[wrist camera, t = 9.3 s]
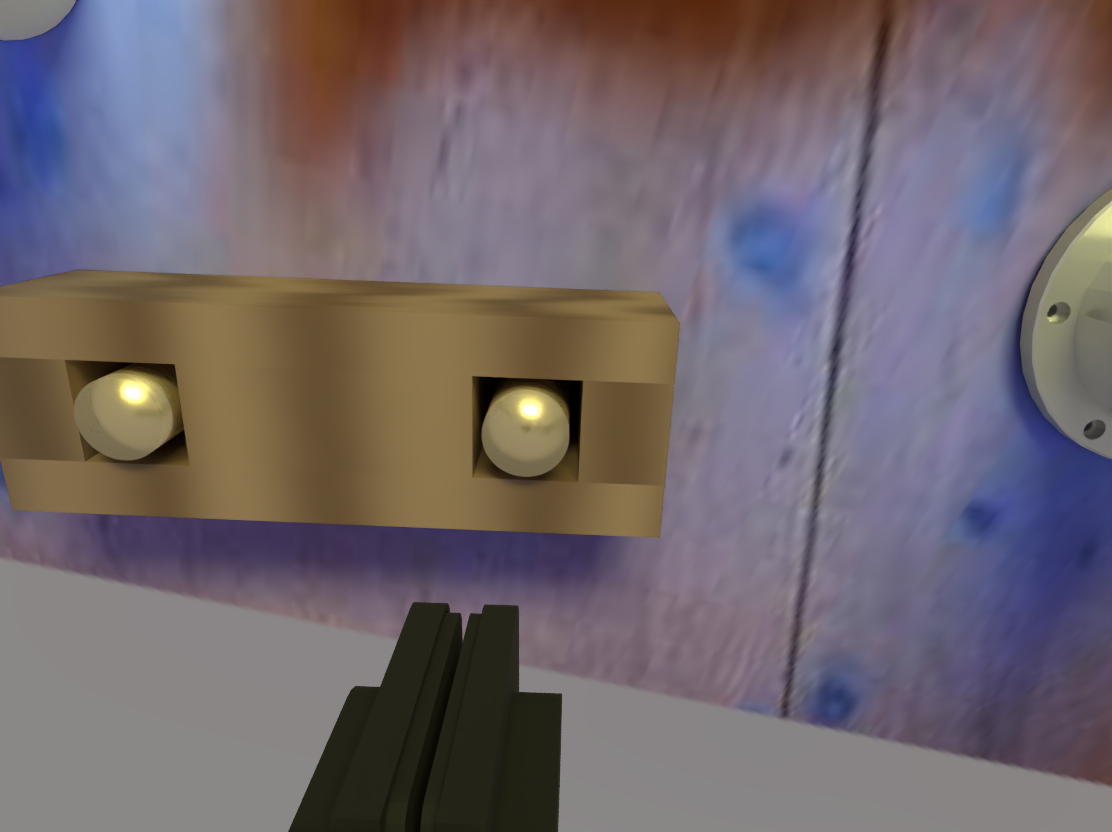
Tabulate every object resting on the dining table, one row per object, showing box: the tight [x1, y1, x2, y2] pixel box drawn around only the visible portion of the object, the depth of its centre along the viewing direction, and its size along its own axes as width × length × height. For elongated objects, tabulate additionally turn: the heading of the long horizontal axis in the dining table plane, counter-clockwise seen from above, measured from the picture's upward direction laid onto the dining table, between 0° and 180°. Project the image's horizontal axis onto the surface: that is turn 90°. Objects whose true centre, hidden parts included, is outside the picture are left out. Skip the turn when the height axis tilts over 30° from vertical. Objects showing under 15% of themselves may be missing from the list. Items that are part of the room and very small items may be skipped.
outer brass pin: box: [74, 363, 184, 460], centre depth 27 cm, size 3×3×6 cm
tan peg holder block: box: [0, 270, 680, 538], centre depth 28 cm, size 24×8×6 cm, turn 88°
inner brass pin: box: [482, 377, 570, 477], centre depth 27 cm, size 3×3×6 cm
